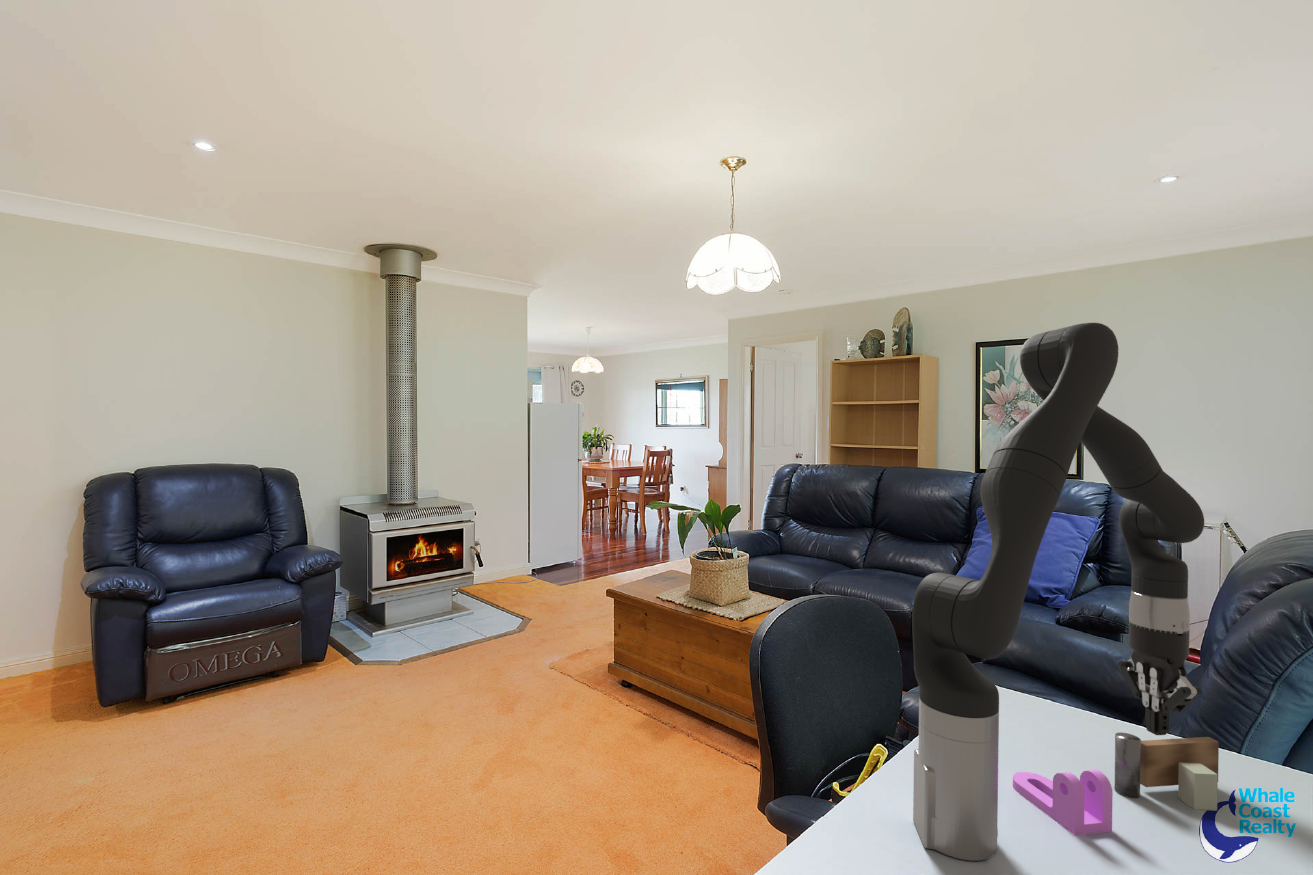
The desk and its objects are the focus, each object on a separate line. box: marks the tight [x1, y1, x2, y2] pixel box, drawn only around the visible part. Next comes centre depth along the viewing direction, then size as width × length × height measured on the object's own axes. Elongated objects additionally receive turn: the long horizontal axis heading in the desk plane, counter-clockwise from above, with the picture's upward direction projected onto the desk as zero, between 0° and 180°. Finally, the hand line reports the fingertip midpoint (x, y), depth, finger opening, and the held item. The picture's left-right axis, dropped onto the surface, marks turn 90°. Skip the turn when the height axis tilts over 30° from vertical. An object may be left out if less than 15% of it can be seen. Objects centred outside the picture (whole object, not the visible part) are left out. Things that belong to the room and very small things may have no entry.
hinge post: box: [1114, 732, 1142, 799], centre depth 93 cm, size 3×3×8 cm
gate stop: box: [1177, 763, 1219, 811], centre depth 91 cm, size 3×3×5 cm
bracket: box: [1012, 769, 1113, 836], centre depth 90 cm, size 13×6×7 cm, turn 10°
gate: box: [1140, 736, 1220, 788], centre depth 94 cm, size 12×2×6 cm, turn 98°
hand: (1156, 732), depth 101 cm, fingers closed
